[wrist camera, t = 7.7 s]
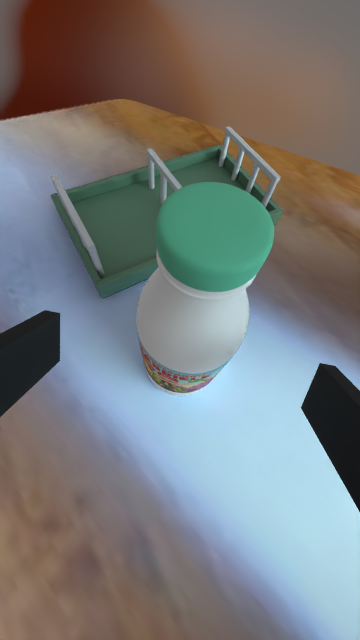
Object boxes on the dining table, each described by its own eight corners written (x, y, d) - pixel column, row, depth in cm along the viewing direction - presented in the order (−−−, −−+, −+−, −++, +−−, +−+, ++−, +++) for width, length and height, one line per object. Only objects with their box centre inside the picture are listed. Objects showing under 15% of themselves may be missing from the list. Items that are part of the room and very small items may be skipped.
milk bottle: (152, 322, 29) (137, 139, 11) (218, 333, 29) (312, 168, 11) (137, 390, 26) (82, 289, 8) (211, 402, 26) (330, 330, 8)
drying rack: (217, 159, 42) (225, 116, 36) (276, 224, 37) (297, 185, 31) (57, 210, 35) (36, 166, 29) (101, 299, 30) (87, 266, 24)
